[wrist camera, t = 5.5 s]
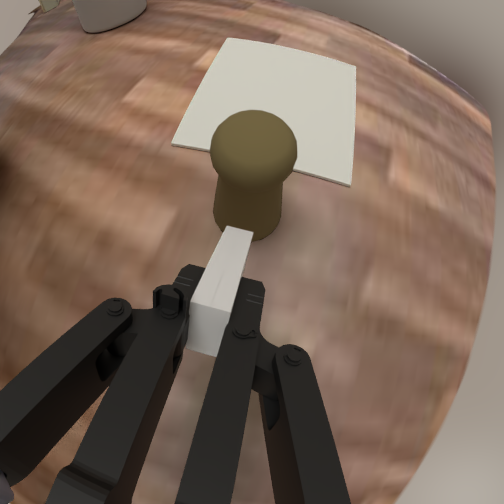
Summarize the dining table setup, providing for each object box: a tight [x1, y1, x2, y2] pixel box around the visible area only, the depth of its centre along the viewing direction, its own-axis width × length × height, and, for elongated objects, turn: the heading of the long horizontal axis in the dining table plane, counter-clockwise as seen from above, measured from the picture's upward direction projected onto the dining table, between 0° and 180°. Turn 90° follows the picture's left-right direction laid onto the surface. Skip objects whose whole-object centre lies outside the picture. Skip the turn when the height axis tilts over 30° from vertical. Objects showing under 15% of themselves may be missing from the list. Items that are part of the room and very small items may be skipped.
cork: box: [210, 110, 297, 242], centre depth 20 cm, size 6×6×11 cm
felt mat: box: [171, 38, 356, 187], centre depth 29 cm, size 20×18×1 cm
